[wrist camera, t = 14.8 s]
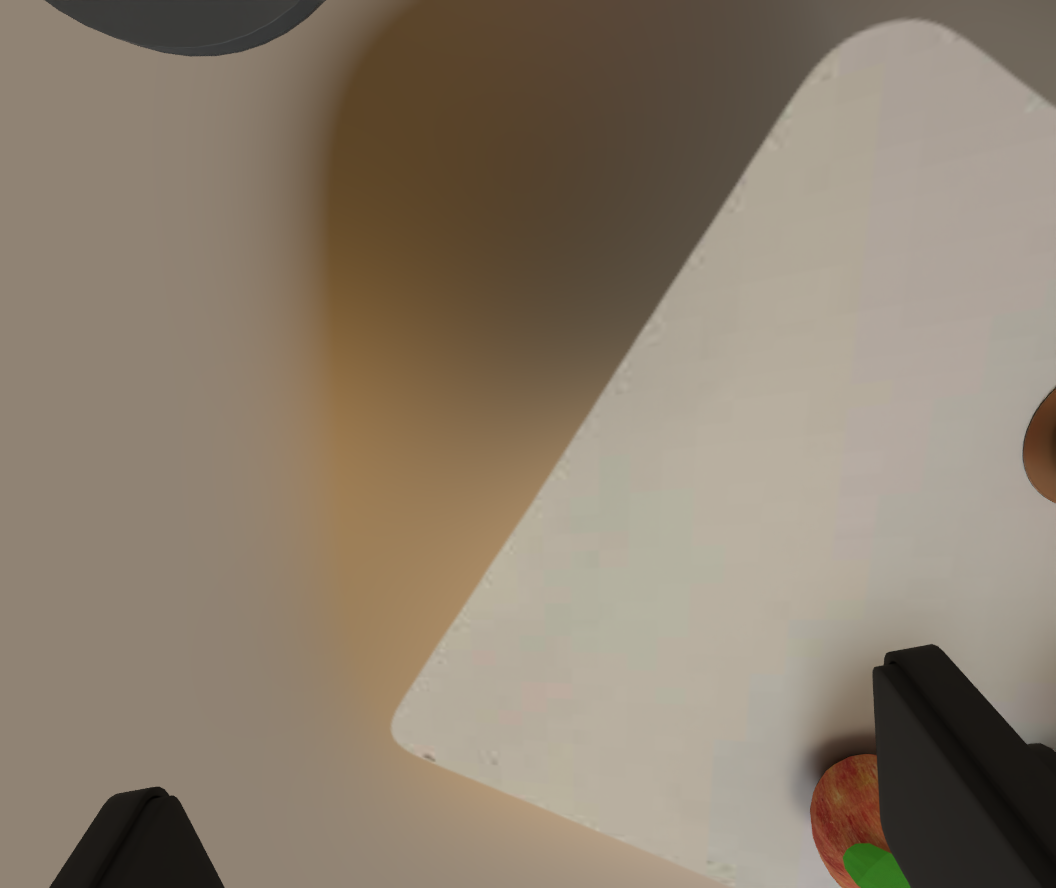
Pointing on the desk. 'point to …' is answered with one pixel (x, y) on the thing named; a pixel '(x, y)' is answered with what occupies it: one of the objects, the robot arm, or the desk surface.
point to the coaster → (1042, 448)
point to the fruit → (853, 826)
